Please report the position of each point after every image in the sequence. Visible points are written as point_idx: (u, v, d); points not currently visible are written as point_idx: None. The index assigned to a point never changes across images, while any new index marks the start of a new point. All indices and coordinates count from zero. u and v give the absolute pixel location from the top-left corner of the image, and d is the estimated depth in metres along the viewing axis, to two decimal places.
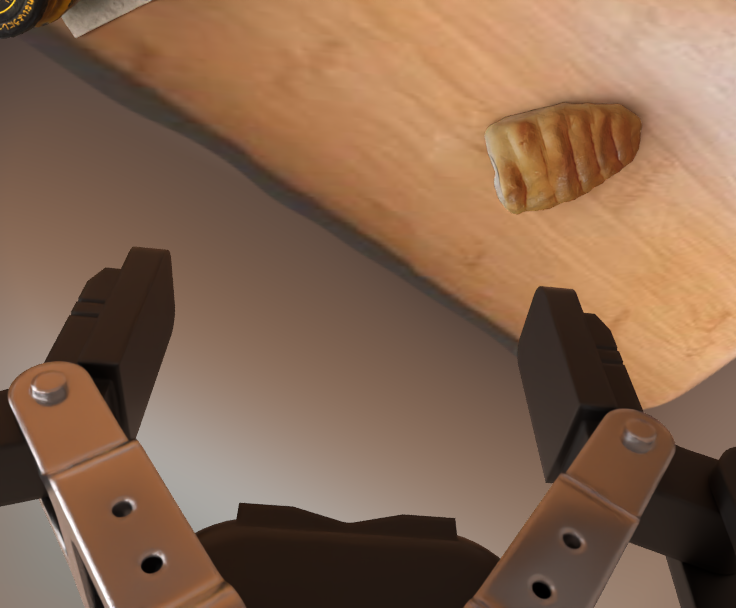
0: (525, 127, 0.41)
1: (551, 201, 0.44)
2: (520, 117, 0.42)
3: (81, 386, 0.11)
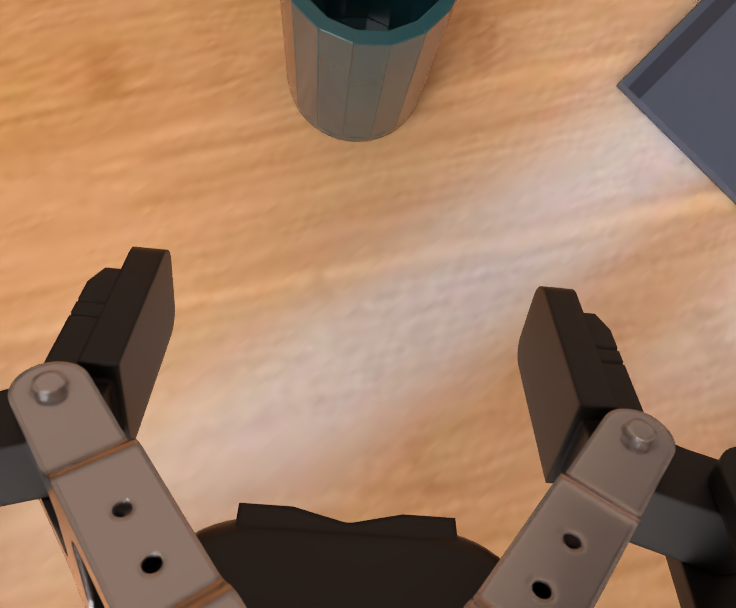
0: None
1: None
2: None
3: (81, 386, 0.11)
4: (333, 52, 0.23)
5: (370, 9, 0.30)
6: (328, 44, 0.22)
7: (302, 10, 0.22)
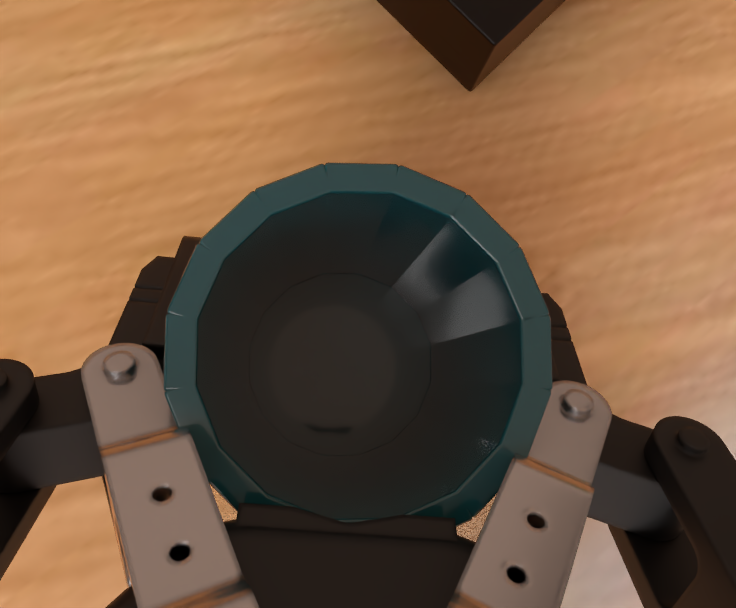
0: None
1: None
2: None
3: (150, 366, 0.11)
4: None
5: (363, 270, 0.19)
6: None
7: (214, 484, 0.10)
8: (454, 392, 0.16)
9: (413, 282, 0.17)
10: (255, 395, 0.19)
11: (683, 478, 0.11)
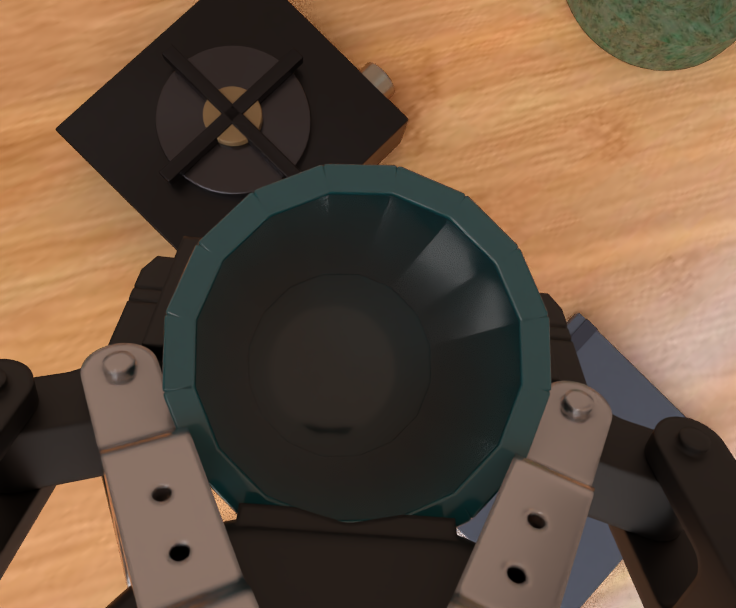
0: None
1: None
2: None
3: (149, 366, 0.11)
4: None
5: (362, 271, 0.19)
6: None
7: (213, 486, 0.10)
8: (453, 393, 0.16)
9: (412, 283, 0.17)
10: (254, 396, 0.19)
11: (683, 478, 0.11)
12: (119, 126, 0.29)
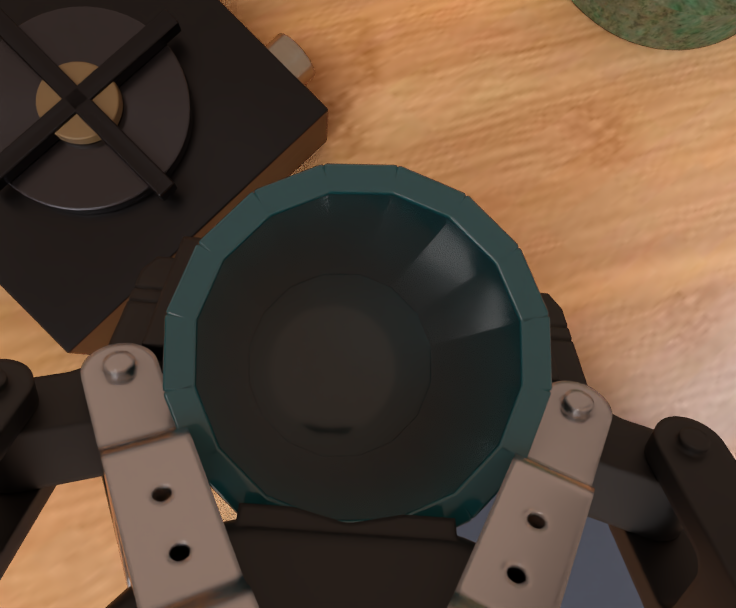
0: None
1: None
2: None
3: (149, 367, 0.11)
4: None
5: (362, 271, 0.19)
6: None
7: (213, 486, 0.10)
8: (454, 393, 0.16)
9: (413, 283, 0.17)
10: (255, 396, 0.19)
11: (683, 478, 0.11)
12: None
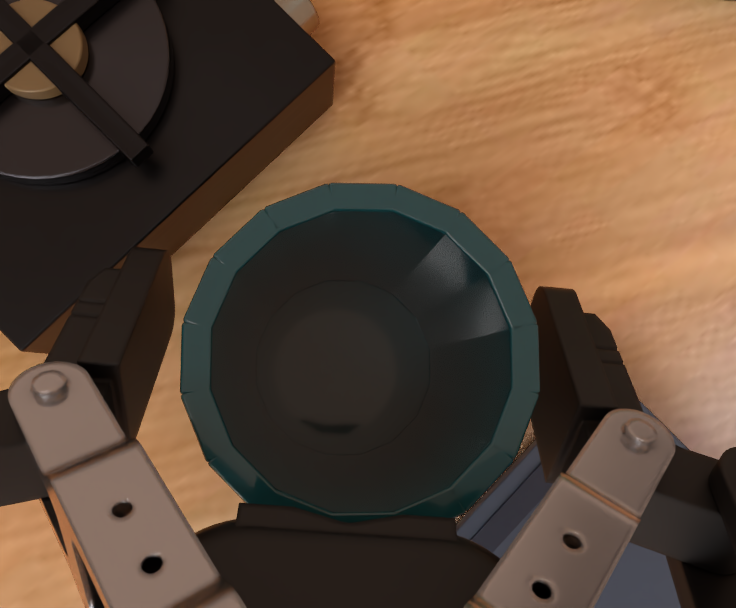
0: None
1: None
2: None
3: (81, 386, 0.11)
4: None
5: (365, 278, 0.20)
6: None
7: (227, 480, 0.11)
8: (451, 394, 0.16)
9: (412, 290, 0.18)
10: (262, 397, 0.20)
11: None
12: None
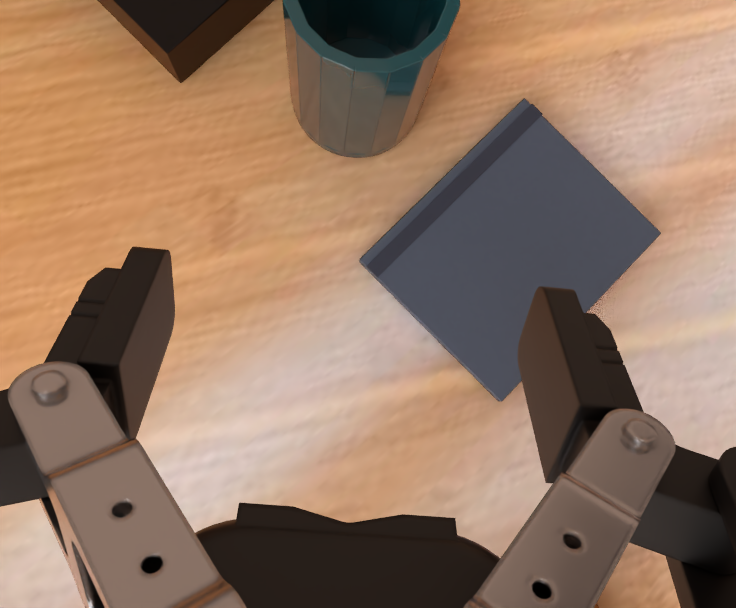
0: None
1: None
2: None
3: (81, 386, 0.11)
4: (335, 77, 0.24)
5: (370, 31, 0.31)
6: (330, 70, 0.24)
7: (306, 39, 0.23)
8: None
9: (399, 22, 0.29)
10: None
11: None
12: None
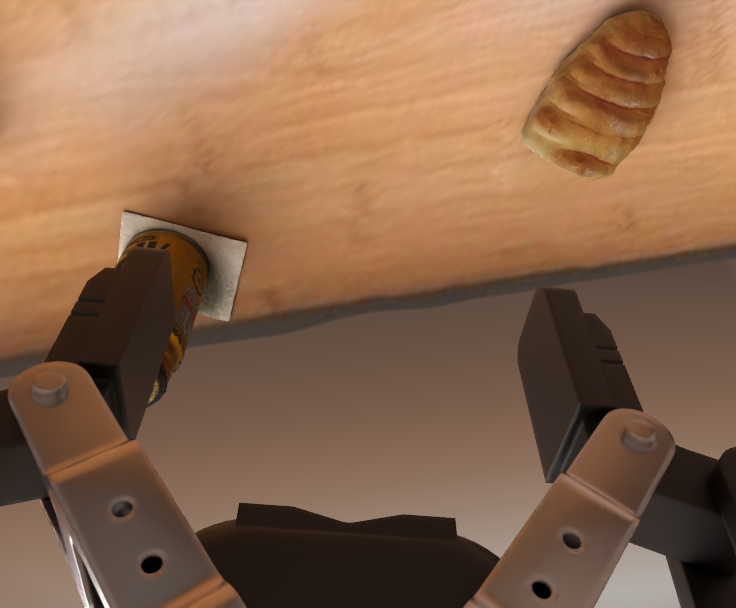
0: (542, 116, 0.40)
1: (628, 142, 0.40)
2: (537, 106, 0.41)
3: (81, 386, 0.11)
4: None
5: None
6: None
7: None
8: None
9: None
10: None
11: None
12: None
